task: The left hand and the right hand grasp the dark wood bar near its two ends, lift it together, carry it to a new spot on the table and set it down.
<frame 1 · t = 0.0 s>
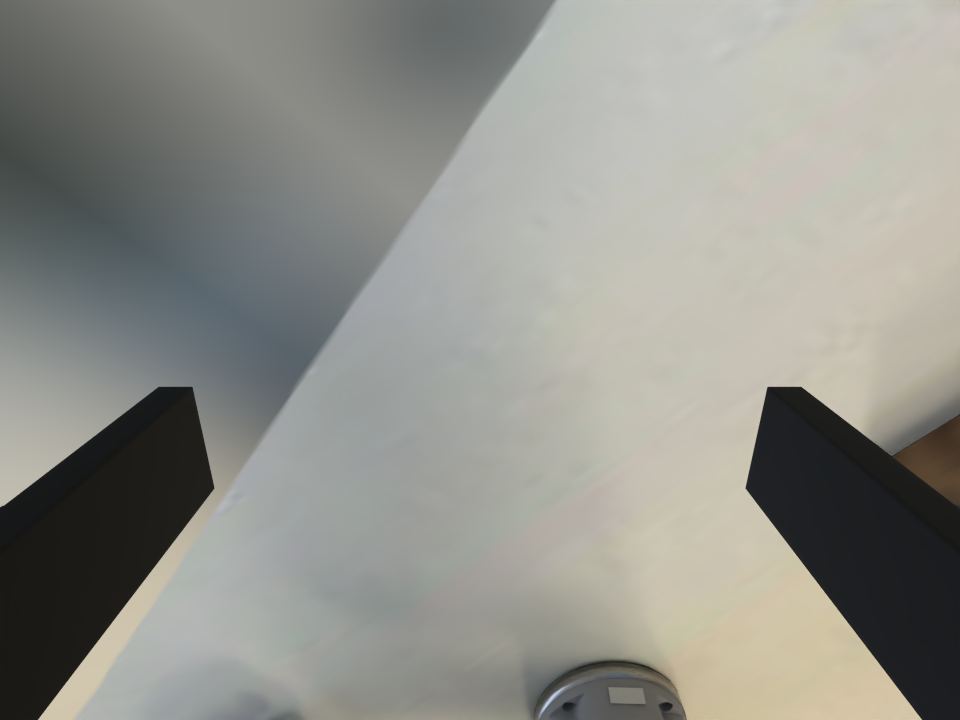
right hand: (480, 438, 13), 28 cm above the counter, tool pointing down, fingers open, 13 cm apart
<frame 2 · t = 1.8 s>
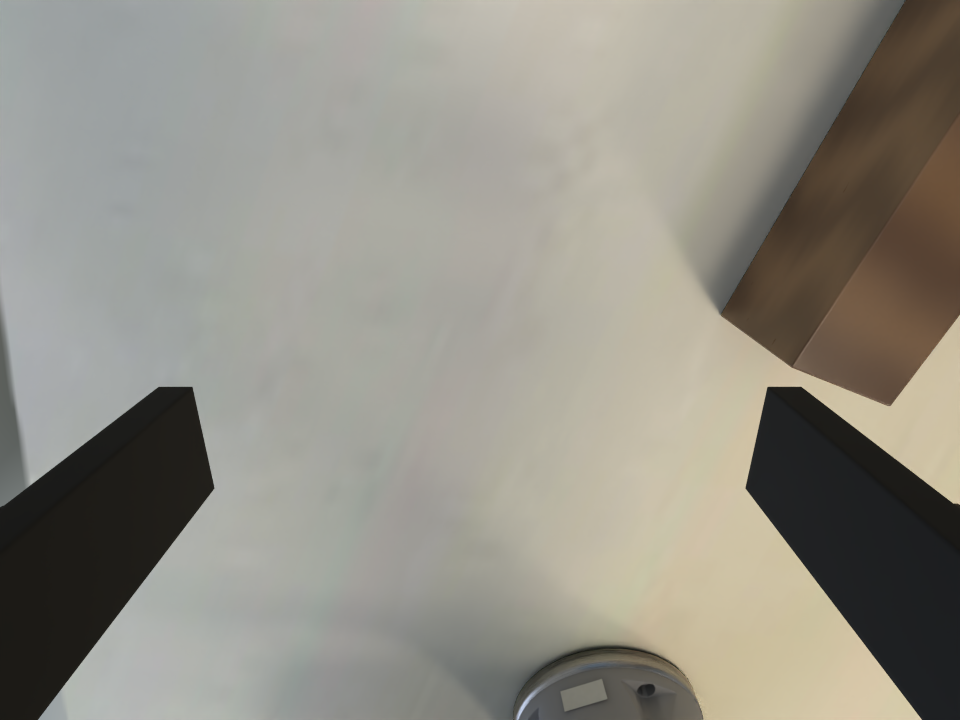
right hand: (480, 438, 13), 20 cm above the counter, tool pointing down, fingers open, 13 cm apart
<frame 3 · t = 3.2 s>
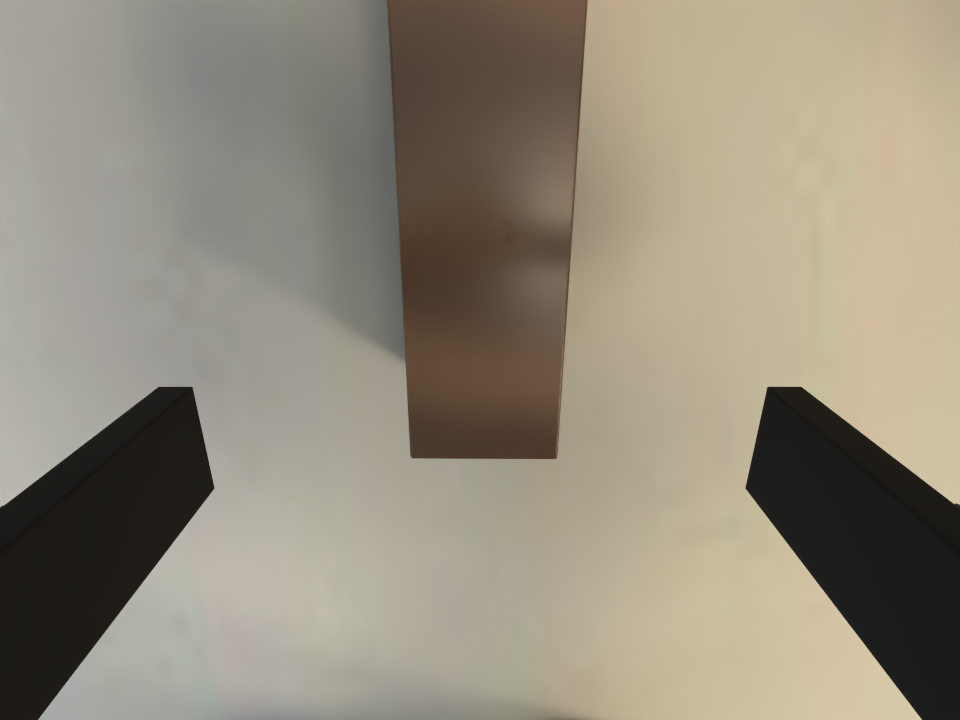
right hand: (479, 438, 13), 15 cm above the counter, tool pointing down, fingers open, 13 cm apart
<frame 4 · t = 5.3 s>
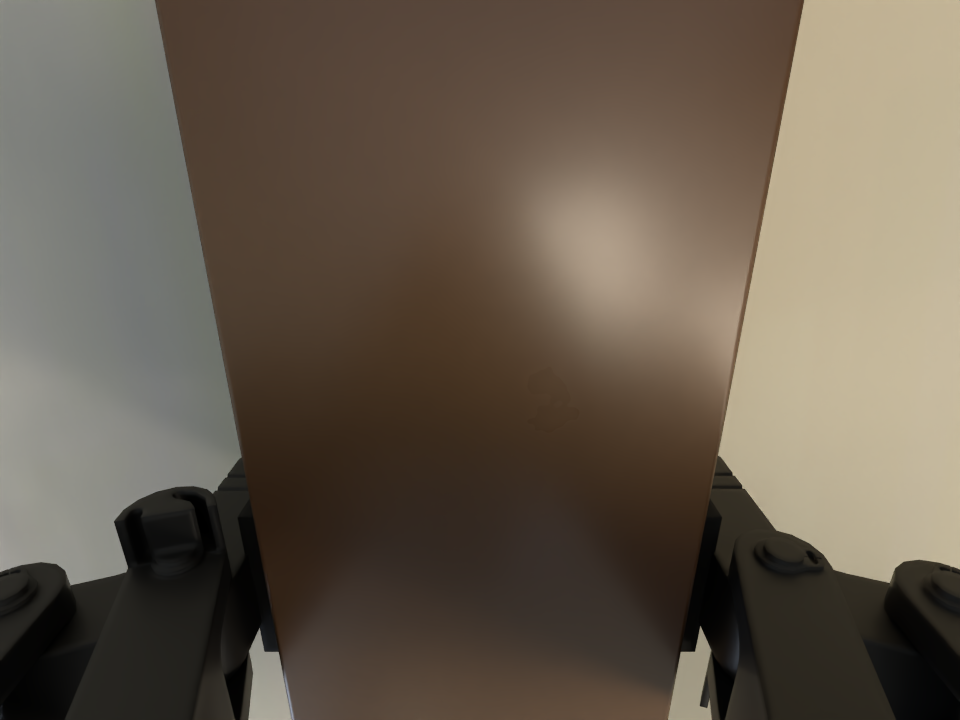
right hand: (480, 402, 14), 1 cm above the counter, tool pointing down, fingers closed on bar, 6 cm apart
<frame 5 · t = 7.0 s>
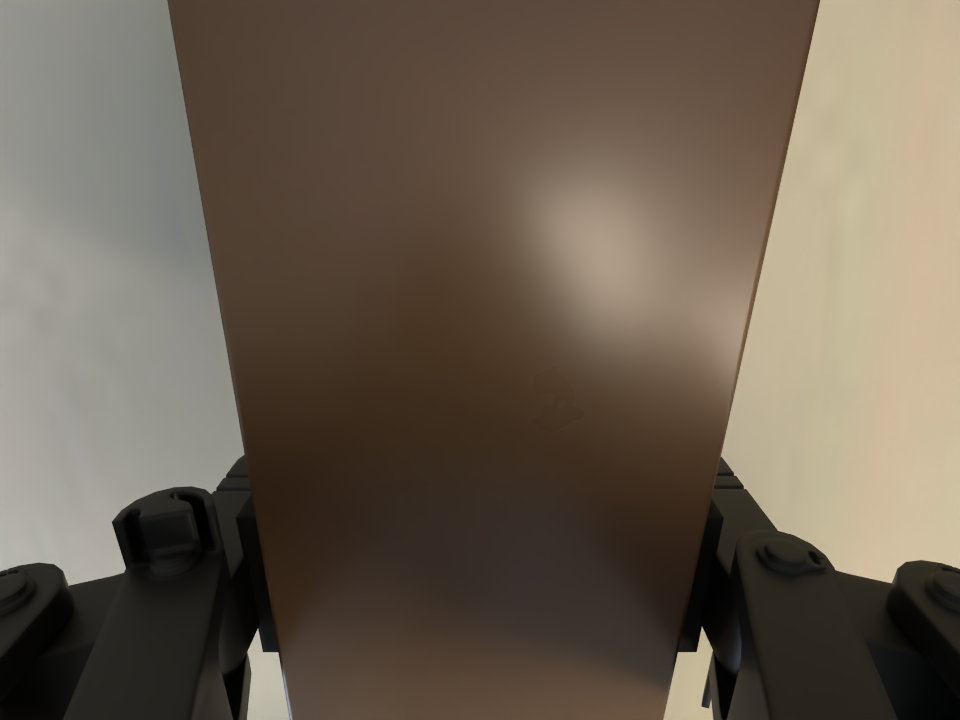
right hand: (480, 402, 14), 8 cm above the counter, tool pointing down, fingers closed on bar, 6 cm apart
when the left hand's fingers open (2 cm above the counter, at t = 9.0 s): bar drops 2 cm, on the counter.
when the right hand's fingers open (2 cm above the counter, at t = 9.0 s): bar drops 2 cm, on the counter.
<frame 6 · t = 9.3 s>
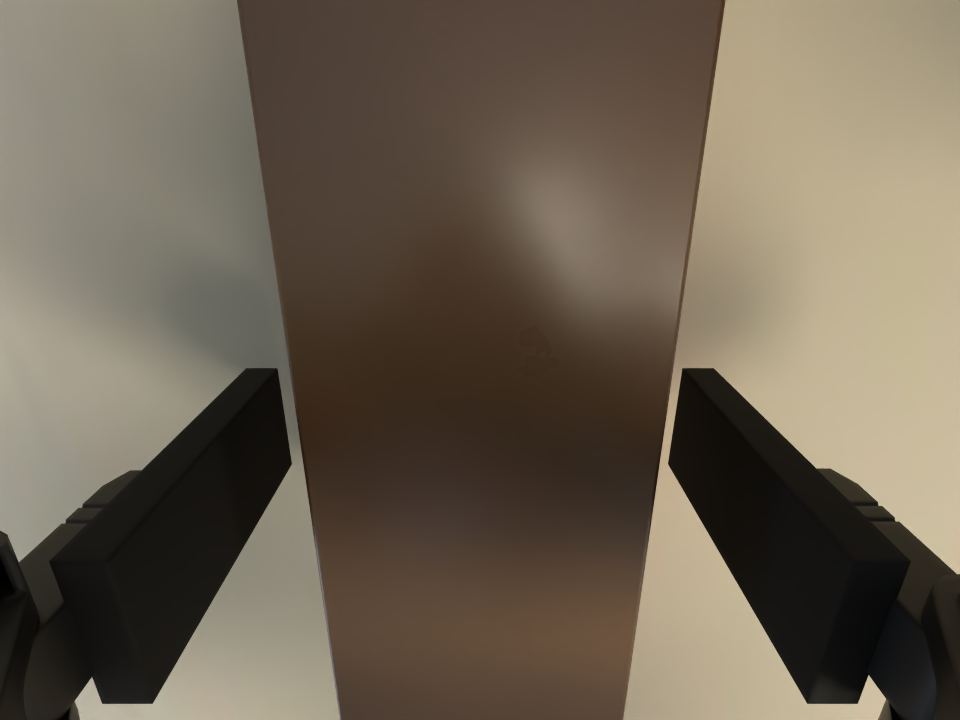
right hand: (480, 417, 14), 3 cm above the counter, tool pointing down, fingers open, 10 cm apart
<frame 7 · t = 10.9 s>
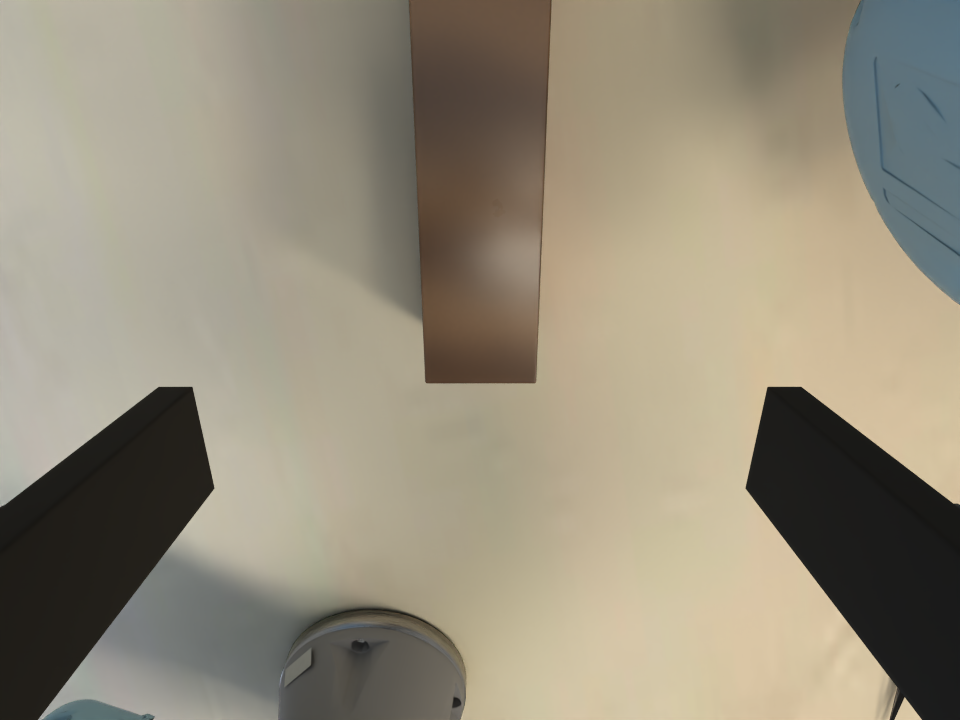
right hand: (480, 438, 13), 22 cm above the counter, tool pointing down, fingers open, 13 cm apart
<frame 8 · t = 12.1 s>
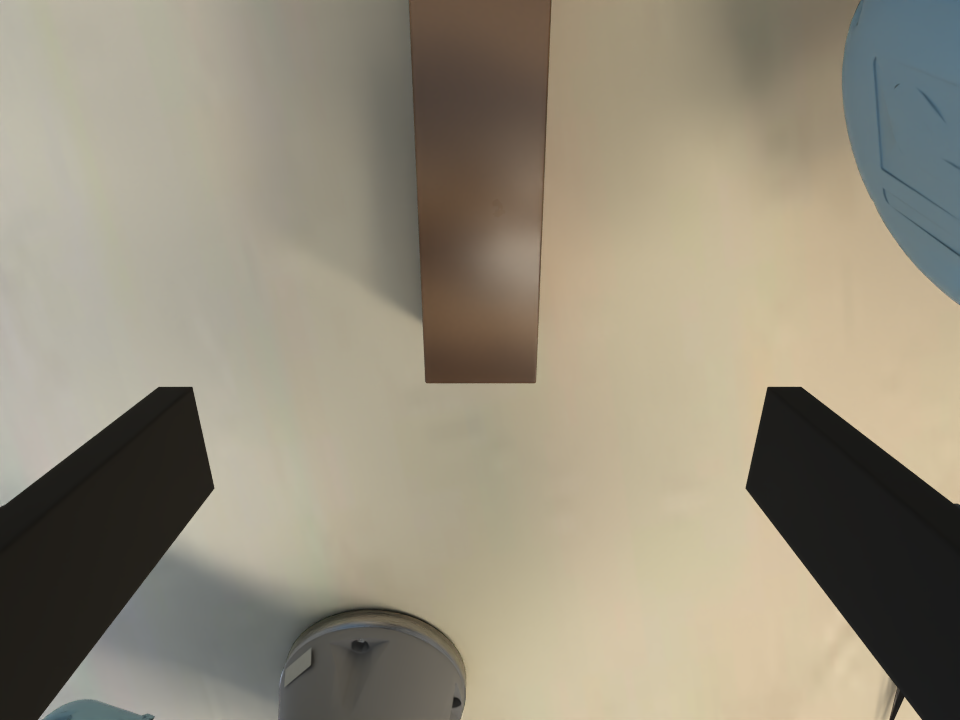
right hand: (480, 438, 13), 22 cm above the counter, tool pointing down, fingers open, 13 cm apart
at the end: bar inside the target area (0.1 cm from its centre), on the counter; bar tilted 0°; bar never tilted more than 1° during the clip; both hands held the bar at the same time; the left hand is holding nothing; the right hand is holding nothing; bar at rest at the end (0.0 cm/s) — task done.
